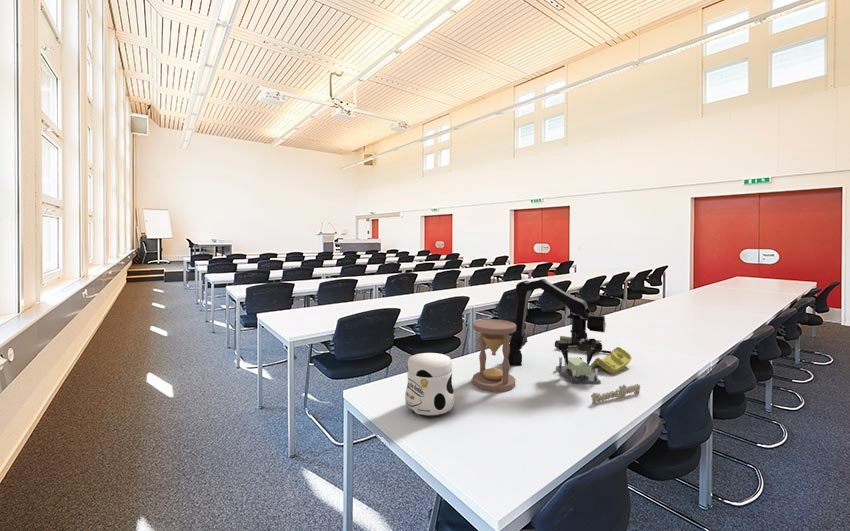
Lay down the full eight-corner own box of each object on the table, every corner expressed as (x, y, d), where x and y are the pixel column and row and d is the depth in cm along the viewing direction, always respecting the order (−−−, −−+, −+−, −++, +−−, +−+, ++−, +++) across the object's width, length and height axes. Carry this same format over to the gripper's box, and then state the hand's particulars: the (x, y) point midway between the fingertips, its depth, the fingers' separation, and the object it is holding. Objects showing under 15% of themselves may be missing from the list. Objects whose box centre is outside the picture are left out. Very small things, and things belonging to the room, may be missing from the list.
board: (577, 375, 159) (577, 366, 159) (564, 365, 171) (564, 357, 171) (591, 374, 160) (591, 366, 159) (577, 364, 172) (577, 357, 171)
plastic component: (615, 370, 165) (595, 355, 172) (607, 382, 169) (588, 367, 175) (635, 357, 177) (616, 344, 184) (628, 369, 181) (609, 355, 187)
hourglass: (464, 378, 162) (465, 321, 160) (499, 372, 169) (500, 317, 167) (487, 395, 146) (488, 331, 144) (524, 387, 153) (525, 326, 151)
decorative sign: (593, 407, 137) (593, 394, 137) (590, 406, 139) (591, 393, 138) (640, 393, 147) (640, 381, 146) (637, 392, 148) (638, 380, 147)
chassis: (571, 383, 157) (572, 370, 156) (556, 368, 174) (556, 356, 174) (600, 383, 157) (601, 370, 156) (582, 367, 175) (582, 356, 174)
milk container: (397, 416, 129) (396, 364, 128) (416, 395, 145) (416, 349, 144) (445, 425, 123) (445, 371, 121) (460, 402, 139) (460, 354, 138)
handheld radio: (560, 347, 208) (611, 353, 196) (559, 349, 205) (610, 355, 193) (560, 335, 207) (611, 341, 195) (559, 336, 204) (611, 343, 192)
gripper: (564, 334, 156) (563, 371, 157) (609, 334, 156) (607, 371, 157) (554, 327, 167) (553, 362, 168) (596, 327, 167) (595, 361, 168)
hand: (577, 364), depth 165 cm, fingers open, 9 cm apart
